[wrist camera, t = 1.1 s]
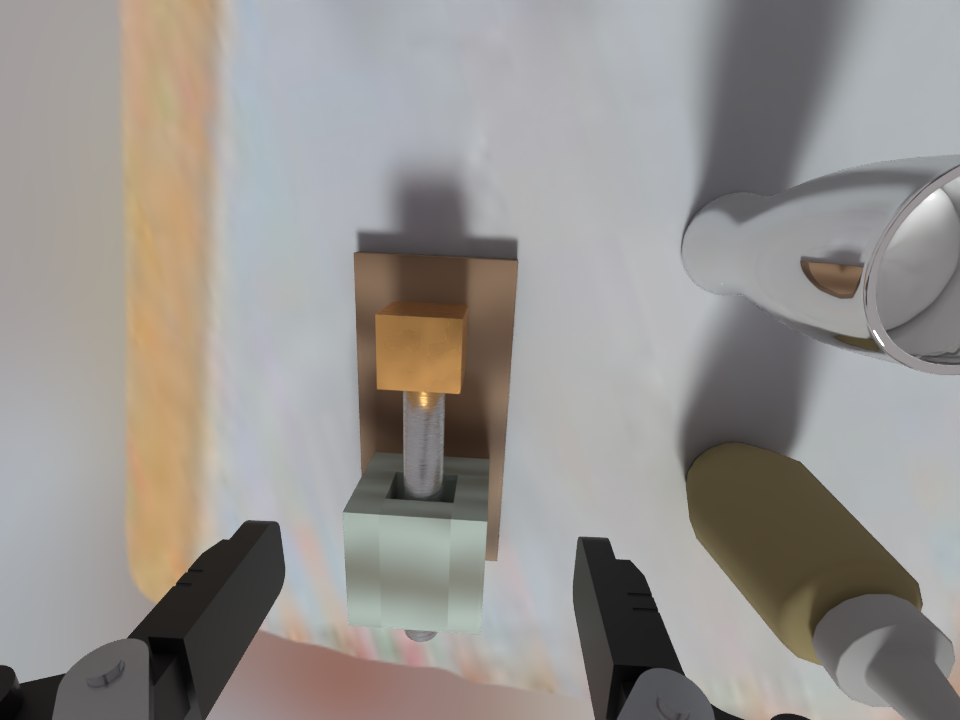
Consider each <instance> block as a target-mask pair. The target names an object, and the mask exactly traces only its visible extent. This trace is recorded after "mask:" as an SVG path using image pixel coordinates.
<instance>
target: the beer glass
mask: <svg viewBox="0 0 960 720" xmlns="http://www.w3.org/2000/svg"><path fill="white" fill-rule="evenodd" d="M682 261H683V265H684V268H685V270H686V272H687V274H688V276H689V277H690V279H691V280H692V281H693V282H694V283H695V284H696V285H697V286H698V287H700V288H701V289H703V290H705V291H707V292H710V293H713V294H717V295H723V296H736V295H742V296H744V297H745V298H747V299H748V300H749V301H751V302H752V303H753V304H755V305H756V306H757V307H759V308H760V309H761V310H763V311H764V312H765V313H767V314H768V315H769V316H771V317H772V318H774V319H776V320H777V321H779V322H781V323H782V324H784V325H785V326H787V327H789V328H790V329H792V330H794V331H796V332H798V333H801V334H803V335H805V336H808V337H810V338H812V339H815V340H817V341H820V342H822V343H825V344H828V345H831V346H834V347H837V348H840V349H843V350H846V351H850V352H853V353H857V354H861V355H864V356H868V357H872V358H875V359H879V360H884V361H888V362H892V363H896V364H900V365H904V366H907V367H909V368H912V369H914V370H917V371H921V372H925V373H930V374H937V375H960V154H957V155H941V156H927V157H915V158H907V159H898V160H890V161H882V162H876V163H871V164H866V165H861V166H856V167H851V168H847V169H843V170H839V171H836V172H833V173H830V174H827V175H824V176H821V177H818V178H814V179H812V180H809V181H807V182H804V183H802V184H799V185H797V186H794V187H792V188H789V189H787V190H784V191H782V192H780V193H777V194H775V195H772V196H769V197H765V196H762V195H758V194H754V193H749V192H736V193H730V194H726V195H723V196H721V197H718V198H716V199H714V200H713V201H711V202H710V203H708V204H707V205H705V206H704V207H703V208H702V209H701V210H700V211H699V212H698V213H697V214H696V215H695V216H694V218H693V219H692V220H691V222H690V224H689V226H688V227H687V230H686V232H685V235H684V238H683V243H682Z"/></svg>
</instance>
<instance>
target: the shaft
mask: <svg viewBox="0 0 960 720" xmlns="http://www.w3.org/2000/svg"><path fill="white" fill-rule="evenodd" d="M375 324H376V368H377V389H382V390H399V391H403V455H404V500H414V501H430V502H443V468H444V429H445V393H451V394H460V393H461V389H462V384H463V380H464V375H465V371H466V350H467V324H468V305H459V304H440V303H421V302H403V301H393V302H391V303H390V304H389V305H387V306H386V307H385V308H383V309H382V310H381V311H379V312H378V313H377V314H375ZM404 630H405V633H406V635H407V636H408V637H409V638H410V639H411V640H414V641H417V642H424V641H428V640H430V639H432V638H433V637H434V636H435V635H436V634H437V633H438V632H435V631H421V630H407V629H404Z"/></svg>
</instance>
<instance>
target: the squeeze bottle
mask: <svg viewBox="0 0 960 720" xmlns="http://www.w3.org/2000/svg"><path fill="white" fill-rule="evenodd" d="M686 491H687V500H688V509H689V518H690V522H691V524H692V527H693V530H694V532H695V535H696V538H697V539H698V540H699V542H700V543H701V544H702V545H703V547H704V548H705V549H706V550H707V552H708V553H709V554H710V555H711V556H712V558H713V559H714V560H715V561H716V563H717V564H718V565H719V566H720V567H721V569H722V570H723V571H724V572H725V574H726V575H727V576H728V577H729V579H730V580H731V581H732V582H733V583H734V585H735V586H736V587H737V588H738V590H739V591H740V592H741V593H742V594H743V596H744V597H745V598H746V599H747V601H748V602H749V603H750V604H751V606H752V607H753V608H754V609H755V610H756V612H757V613H758V614H759V615H760V617H761V618H762V619H763V620H764V621H765V623H766V624H767V625H768V626H769V628H770V629H771V630H772V631H773V633H774V634H775V635H776V636H777V637H778V639H779V640H780V641H781V642H782V643H783V644H784V645H785V646H786V647H787V648H788V649H789V650H790V651H791V652H792V653H794V654H795V655H796V656H797V657H798V658H801V659H804V660H807V661H810V662H812V663H815V664H818V665H822V666H823V667H824V668H825V670H826V671H827V672H828V674H829V675H830V676H831V678H832V679H833V681H834V682H835V683H836V685H837V686H838V687H839V688H840V689H841V690H842V691H843V692H844V693H845V694H846V695H847V696H848V697H849V698H850V699H852V700H855V701H858V702H860V703H863V704H866V705H869V706H872V707H892V708H893V709H894V710H895V711H897V712H898V713H899V714H900V715H901V716H902V717H903V718H904V719H905V720H960V697H959V696H958V694H957V693H956V691H955V690H954V689H953V687H952V686H951V684H950V683H949V681H948V680H947V678H948V677H949V675H950V673H951V670H952V667H953V665H954V662H955V656H954V650H953V645H952V642H951V641H950V640H949V639H948V638H947V637H946V636H945V635H944V634H943V632H942V631H941V630H940V629H939V628H937V627H936V626H935V625H934V624H933V623H932V622H931V621H930V620H929V619H928V618H927V617H926V616H924V615H923V614H922V613H921V609H922V605H923V603H922V598H921V593H920V588H919V584H918V582H917V581H916V580H915V579H914V578H913V577H912V576H911V575H910V574H909V573H908V572H907V571H906V570H905V569H904V568H903V567H902V566H901V565H900V564H899V563H898V562H897V560H896V559H895V558H894V557H893V556H892V555H891V554H890V553H889V552H888V551H887V550H886V549H885V548H884V547H883V546H882V545H881V544H880V543H879V542H878V541H877V540H876V539H875V538H874V537H873V536H872V535H871V534H870V533H869V532H868V531H867V530H866V529H865V528H864V527H863V526H862V525H861V524H860V523H859V521H858V520H857V519H856V518H855V517H854V516H853V515H852V514H851V513H850V512H849V511H848V510H847V509H846V508H845V507H844V506H843V505H842V504H841V503H840V502H839V501H838V500H837V499H836V498H835V497H834V496H833V495H832V494H831V493H830V492H829V491H828V490H827V489H826V488H825V487H824V486H823V485H822V483H821V482H820V481H819V480H818V479H817V478H816V477H815V476H814V475H813V474H812V473H811V472H810V471H809V470H808V469H807V468H806V467H805V466H804V465H803V464H802V463H801V462H800V461H797V460H794V459H792V458H789V457H786V456H784V455H781V454H779V453H776V452H772V451H769V450H765V449H762V448H759V447H755V446H752V445H748V444H745V443H723V444H721V445H718V446H715V447H712V448H709V449H708V450H707V451H705V452H704V453H703V454H701V455H700V456H699V457H698V458H696V459H695V461H694V463H693V464H692V466H691V468H690V469H689V471H688V474H687V482H686Z"/></svg>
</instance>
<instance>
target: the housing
mask: <svg viewBox="0 0 960 720" xmlns="http://www.w3.org/2000/svg"><path fill="white" fill-rule="evenodd" d="M517 270H518V260H516V259H497V258H477V257H457V256H437V255H417V254H398V253H378V252H355V253H354V273H355V301H356V329H357V357H358V385H359V413H360V441H361V469H362V477H361V479H360V481H359V483H358V485H357V487H356V488H355V490H354V492H353V494H352V496H351V498H350V500H349V501H348V503H347V505H346V507H345V509H344V511H343V529H344V548H345V568H346V587H347V607H348V625H351V626H365V627H379V628H393V629H407V630H421V631H435V632H448V633H462V634H476V635H481V618H482V601H483V585H484V568H485V560H488V561H497V556H498V542H499V527H500V513H501V499H502V484H503V470H504V456H505V441H506V427H507V413H508V399H509V384H510V370H511V356H512V341H513V327H514V313H515V298H516V284H517ZM393 301H403V302H421V303H440V304H459V305H468V324H467V350H466V371H465V375H464V380H463V384H462V389H461V393H460V394H451V393H445V429H444V468H443V502H430V501H414V500H404V455H403V391H399V390H382V389H377V368H376V324H375V314H377V313H378V312H379V311H381V310H382V309H383V308H385V307H386V306H387V305H389V304H390V303H391V302H393Z"/></svg>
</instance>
